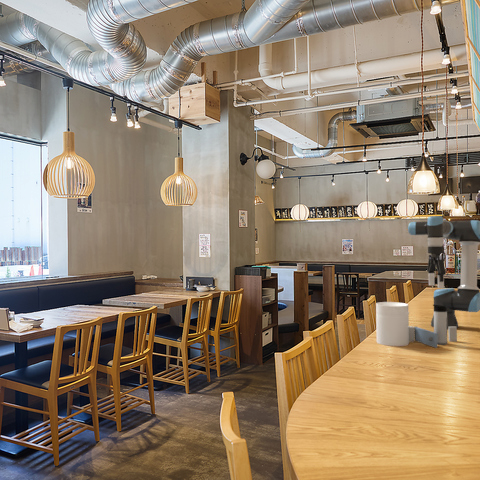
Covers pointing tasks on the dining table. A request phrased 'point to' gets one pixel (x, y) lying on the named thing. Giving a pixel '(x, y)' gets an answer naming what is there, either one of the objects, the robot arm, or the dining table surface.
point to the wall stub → (452, 334)
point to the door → (425, 336)
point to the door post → (411, 334)
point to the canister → (392, 323)
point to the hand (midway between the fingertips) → (436, 286)
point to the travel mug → (440, 324)
